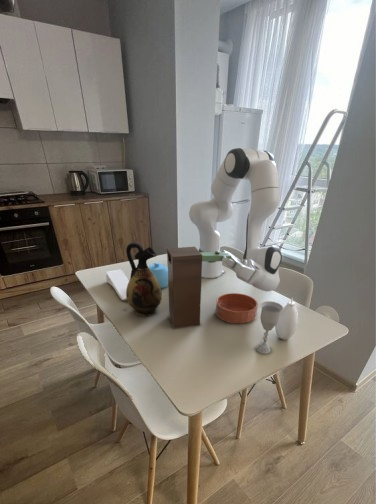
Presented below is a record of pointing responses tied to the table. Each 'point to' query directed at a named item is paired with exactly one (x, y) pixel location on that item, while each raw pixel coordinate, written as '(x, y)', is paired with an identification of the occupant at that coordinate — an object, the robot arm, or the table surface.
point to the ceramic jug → (142, 282)
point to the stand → (184, 286)
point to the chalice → (268, 322)
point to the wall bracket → (118, 282)
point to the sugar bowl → (160, 274)
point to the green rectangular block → (214, 256)
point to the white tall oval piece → (287, 321)
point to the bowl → (236, 308)
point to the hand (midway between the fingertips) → (219, 255)
